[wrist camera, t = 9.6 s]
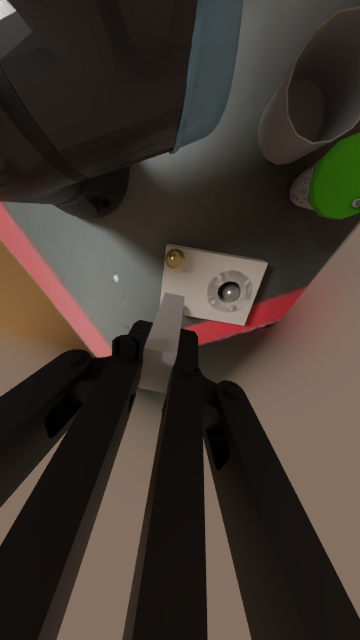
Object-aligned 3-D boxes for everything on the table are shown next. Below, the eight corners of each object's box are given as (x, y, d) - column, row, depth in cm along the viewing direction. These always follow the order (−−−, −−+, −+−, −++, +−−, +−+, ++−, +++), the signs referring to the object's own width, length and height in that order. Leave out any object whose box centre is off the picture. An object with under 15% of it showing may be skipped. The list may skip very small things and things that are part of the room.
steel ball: (229, 300, 39) (218, 300, 37) (230, 284, 39) (220, 284, 37) (241, 302, 37) (230, 302, 35) (243, 285, 36) (232, 284, 34)
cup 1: (337, 100, 24) (414, 38, 16) (295, 174, 28) (338, 158, 20) (281, 67, 23) (330, -18, 15) (245, 149, 27) (268, 120, 19)
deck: (161, 305, 41) (159, 310, 39) (168, 243, 35) (166, 245, 32) (241, 319, 41) (244, 325, 39) (263, 260, 35) (268, 263, 33)
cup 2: (284, 158, 28) (361, 109, 15) (341, 154, 27) (476, 99, 14) (273, 218, 31) (326, 223, 18) (322, 216, 31) (414, 219, 18)
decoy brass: (165, 265, 34) (162, 270, 31) (168, 245, 32) (165, 248, 30) (184, 268, 34) (182, 273, 31) (187, 249, 32) (186, 252, 30)
